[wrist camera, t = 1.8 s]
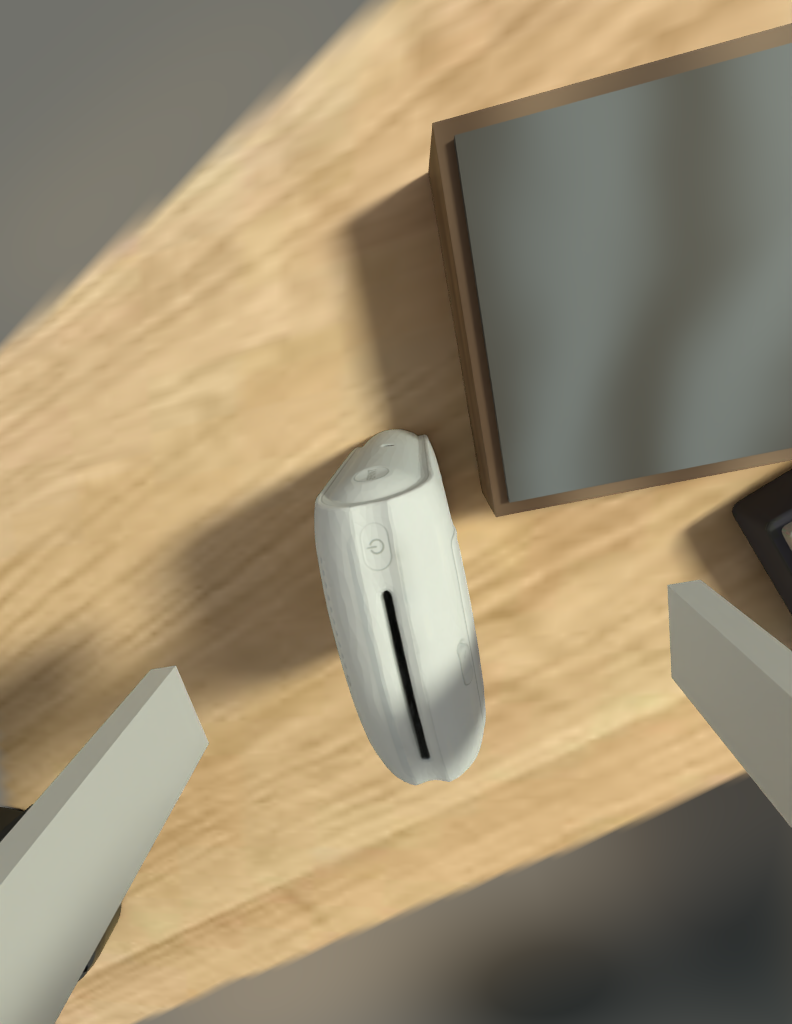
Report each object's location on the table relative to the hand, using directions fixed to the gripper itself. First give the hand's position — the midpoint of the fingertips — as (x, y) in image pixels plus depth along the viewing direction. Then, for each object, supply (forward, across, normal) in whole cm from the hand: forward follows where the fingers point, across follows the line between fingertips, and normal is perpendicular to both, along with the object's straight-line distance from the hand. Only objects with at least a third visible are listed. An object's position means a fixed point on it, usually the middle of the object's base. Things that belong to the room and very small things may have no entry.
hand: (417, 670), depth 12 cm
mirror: (+12, +10, +8) cm, 18 cm away
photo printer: (+12, -1, 0) cm, 12 cm away
